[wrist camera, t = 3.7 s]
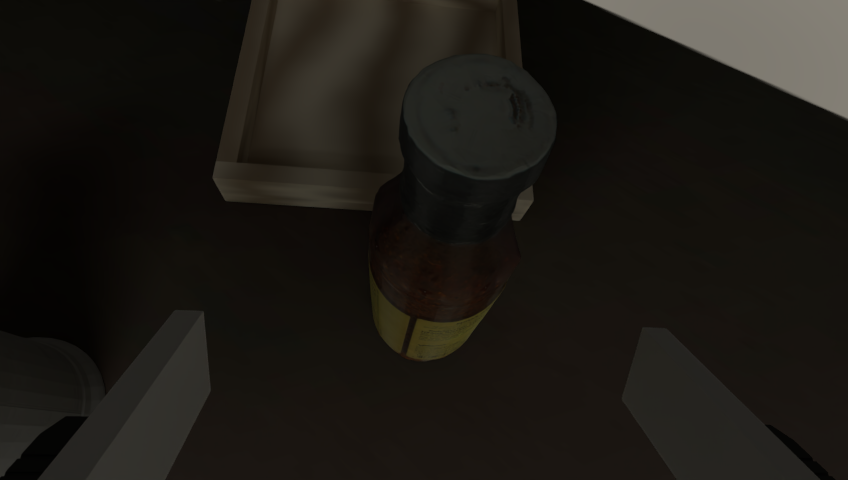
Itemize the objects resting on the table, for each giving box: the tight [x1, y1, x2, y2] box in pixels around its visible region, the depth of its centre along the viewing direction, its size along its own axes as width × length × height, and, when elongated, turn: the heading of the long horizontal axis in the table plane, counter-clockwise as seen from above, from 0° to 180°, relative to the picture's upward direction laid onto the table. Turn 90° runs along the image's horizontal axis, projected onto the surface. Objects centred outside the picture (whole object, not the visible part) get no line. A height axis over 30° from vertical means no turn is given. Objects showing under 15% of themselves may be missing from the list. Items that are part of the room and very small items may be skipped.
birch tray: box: [213, 0, 534, 221], centre depth 35 cm, size 20×20×3 cm
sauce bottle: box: [368, 54, 557, 361], centre depth 21 cm, size 6×6×20 cm
